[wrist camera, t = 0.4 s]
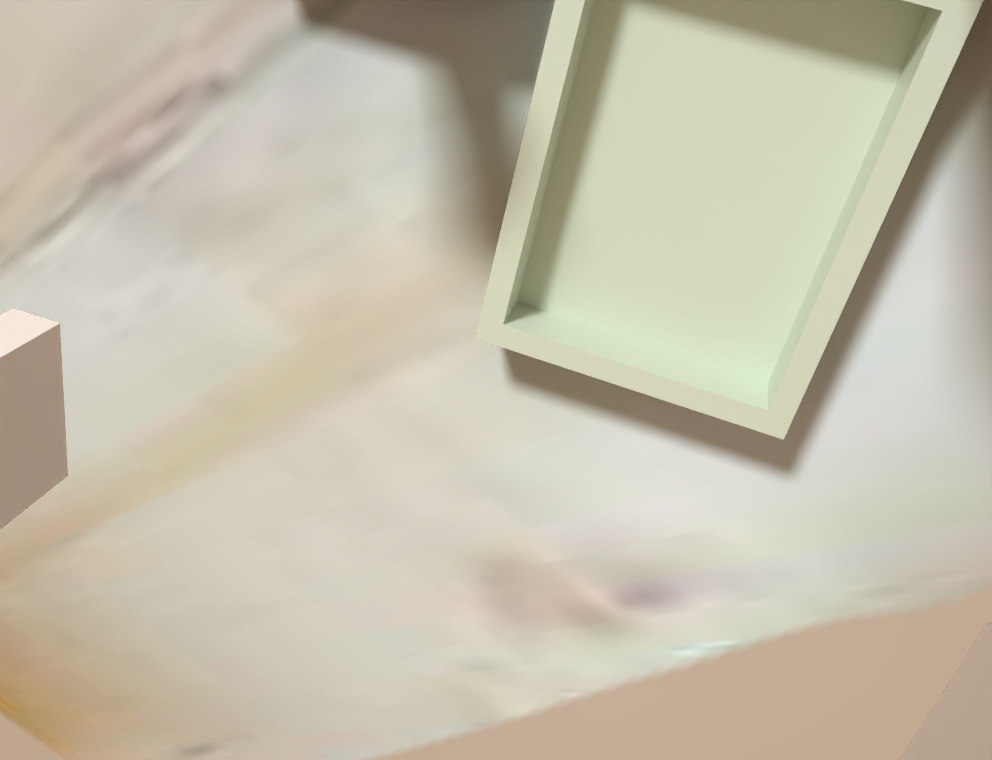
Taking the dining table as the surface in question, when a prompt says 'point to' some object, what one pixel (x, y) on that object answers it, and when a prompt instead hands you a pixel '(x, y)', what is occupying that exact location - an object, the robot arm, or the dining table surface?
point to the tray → (710, 188)
